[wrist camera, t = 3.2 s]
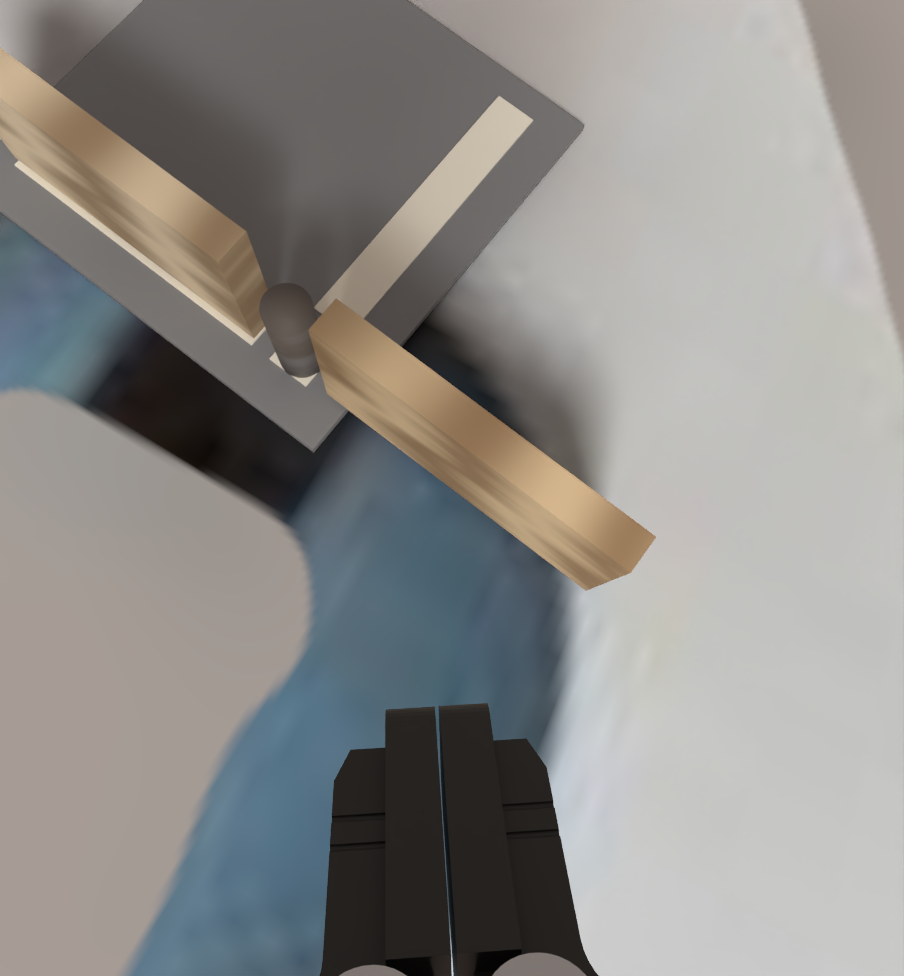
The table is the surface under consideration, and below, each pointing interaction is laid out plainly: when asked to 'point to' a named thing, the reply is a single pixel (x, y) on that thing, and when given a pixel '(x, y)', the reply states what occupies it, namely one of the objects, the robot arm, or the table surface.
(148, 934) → the table surface
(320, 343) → the folding section
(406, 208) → the card
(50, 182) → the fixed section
